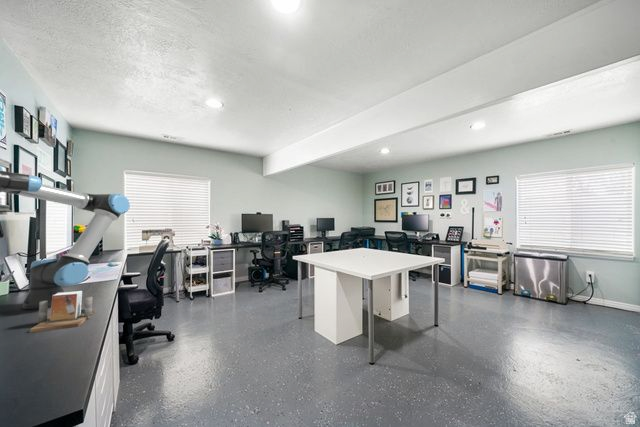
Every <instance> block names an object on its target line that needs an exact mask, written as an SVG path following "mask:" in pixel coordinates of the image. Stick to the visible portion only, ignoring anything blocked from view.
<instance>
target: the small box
mask: <svg viewBox="0 0 640 427" xmlns="http://www.w3.org/2000/svg"><path fill="white" fill-rule="evenodd" d="M82 298H83V290H78V291H77V290H75V291H68V292H67V291H64V292H63V293H57V294H55V295H53V296H52V305H51V307H50V316H49V317H50V321H56V320H66V319H75V318H77V317H78V316H79V315H80V314H81V309H82V301H83V300H82Z"/></svg>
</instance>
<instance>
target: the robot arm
mask: <svg viewBox="0 0 640 427" xmlns="http://www.w3.org/2000/svg"><path fill="white" fill-rule="evenodd" d="M42 183H43V182H42V179H41V178H40V177H39V176H37V175H31V174H25V173H19V172H12V171H11V172H9V171H5V170H3V167H2V166H1V165H0V193H6V194H7V193H8V194H12V195H18V196H22V197H28V198H32V199H38V200H42V201H49V202H53V203H56V204H57V203H58V204H62V205H66V206H67V205H68V206H71V207H72V206H73V207H76V208H77V209H79V210H82V211H86V212H87V211H88V212H92V213H94V215H93V217H92V218H91V219H90V221H89V222H88V224H87V225H86V227H85V228H84V229H83V231H82V232H81V234H80V236H78V238H77V239H76V241H75V242H74V244H73V246H72V247H70V250H69V251H68V252H67V253H65V254H62V255H61V256H59V257H58V258H48V259H41V260H40V259H38V260H34V261H32V262H31V264H30V268H29V271H30V272H29V287H28V289H29V290H28V293H27V295H26V297H25V299H24V301H23V302H22V309H23V310H37V309H38V310H39V302H41V301H48V308H49V307H50V306H51V305H52V296H53V295H55V294H57V293H63V292H65V290H64V287H72V286H76V285H78V284H81V283H83V281H84V280H86V278H87V277H88V275H89V265H90V261H89V259H90V257H91V256H92V254H93V252H94V251H95V249H96V248H97V246H98V244H99V243H100V242H101V240H102V238H103V237H104V235H105V234H106V233H107V231H108V229H109V228H110V226H111V224H112V223H113V221H116V220H117V221H118V219H119V217H120V216H121V215H124V214H126V213H127V212H128V211H129V210H130V206H131V205H130V201H129V199H128V197H126V195H123V194H121V193H107V194H106V193H105V194H100V193H99V194H93V193H87V192H82V193H79V192H76V191H70V190H67V189H64V188H58V187H55V186H50V185H46V184H42ZM4 235H5V232H4V230H3V226H2V222H1V221H0V239H2V238H4ZM50 308H51V307H50Z"/></svg>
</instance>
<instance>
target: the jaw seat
mask: <svg viewBox="0 0 640 427" xmlns="http://www.w3.org/2000/svg"><path fill="white" fill-rule="evenodd" d="M93 299H94V298H93V296H86V297H85V298H84V308H81V314H80V315H79V316H78V317H77V318H75V319H66V320H56V321H50V316H49V317H48V309H49V307H48V301H41V302H39V308H38V320H37V322H38V324H37V325H34V326H33V327H30V329H29V333H37V332H44V331H52V330H62V329H66V328H67V329H69V328H77V327H79V326H81V325H82V324H83V323H84V322H86V321H87V320H88V319H89V318H90V317H92V316H93V315H94V314H95V313H96V309H93Z"/></svg>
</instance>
